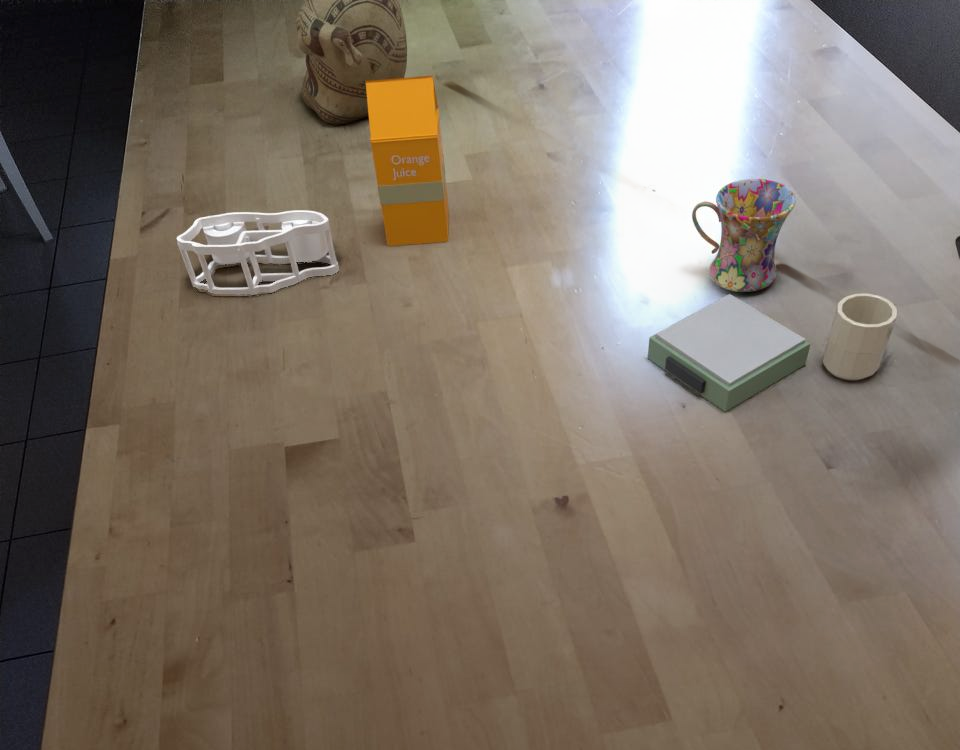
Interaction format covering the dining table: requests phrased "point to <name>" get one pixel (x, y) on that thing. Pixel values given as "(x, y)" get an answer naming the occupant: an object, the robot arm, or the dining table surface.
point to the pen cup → (859, 336)
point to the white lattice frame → (259, 248)
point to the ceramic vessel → (349, 53)
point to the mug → (747, 232)
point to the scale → (728, 351)
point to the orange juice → (408, 159)
